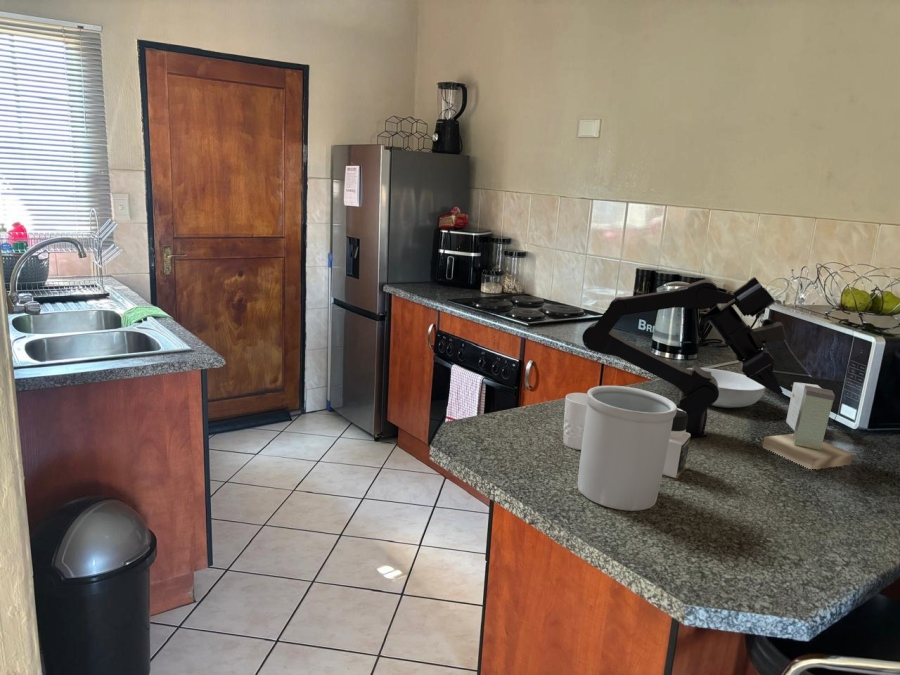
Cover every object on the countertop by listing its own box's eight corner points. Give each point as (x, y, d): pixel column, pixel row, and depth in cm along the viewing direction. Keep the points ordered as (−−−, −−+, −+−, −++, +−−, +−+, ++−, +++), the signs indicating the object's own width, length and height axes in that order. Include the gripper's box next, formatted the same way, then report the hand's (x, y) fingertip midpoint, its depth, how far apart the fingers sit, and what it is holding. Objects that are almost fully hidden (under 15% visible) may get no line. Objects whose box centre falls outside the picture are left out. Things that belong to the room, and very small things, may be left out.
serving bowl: (775, 408, 173) (780, 383, 172) (737, 421, 160) (742, 394, 158) (702, 386, 188) (706, 363, 187) (662, 396, 175) (666, 372, 174)
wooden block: (810, 472, 133) (813, 458, 132) (761, 449, 143) (764, 436, 143) (849, 467, 137) (853, 453, 137) (800, 445, 148) (802, 432, 147)
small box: (820, 436, 153) (830, 393, 151) (795, 433, 154) (804, 390, 152) (809, 425, 161) (818, 384, 159) (785, 422, 162) (793, 381, 160)
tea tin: (821, 450, 137) (835, 396, 134) (793, 444, 139) (806, 390, 136) (818, 443, 141) (832, 390, 139) (792, 437, 143) (804, 385, 141)
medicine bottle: (676, 479, 123) (687, 418, 120) (639, 468, 126) (648, 409, 124) (685, 467, 129) (695, 409, 126) (649, 457, 132) (658, 400, 130)
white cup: (605, 446, 136) (612, 400, 134) (585, 455, 131) (591, 407, 128) (573, 434, 142) (579, 390, 139) (552, 442, 136) (558, 396, 134)
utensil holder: (620, 470, 125) (633, 382, 121) (679, 505, 112) (696, 408, 108) (558, 480, 118) (569, 387, 114) (613, 519, 105) (628, 416, 101)
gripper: (772, 313, 130) (821, 377, 129) (761, 302, 147) (805, 358, 146) (722, 345, 134) (769, 407, 133) (717, 330, 151) (760, 385, 150)
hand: (777, 387), depth 140 cm, fingers open, 9 cm apart
